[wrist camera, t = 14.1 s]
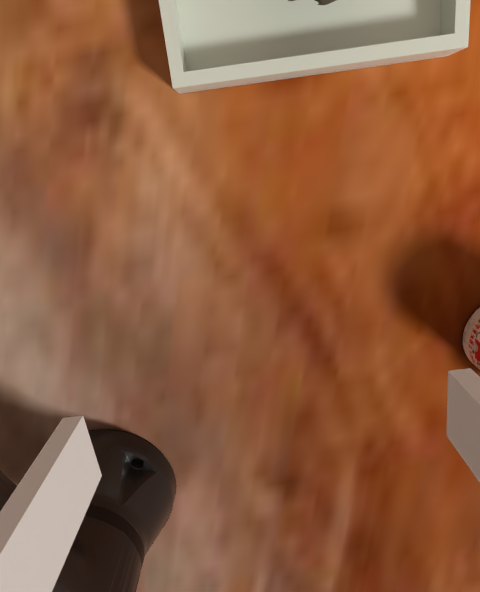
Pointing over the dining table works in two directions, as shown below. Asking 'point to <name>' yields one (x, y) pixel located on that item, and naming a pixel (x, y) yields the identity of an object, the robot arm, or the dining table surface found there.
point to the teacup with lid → (472, 339)
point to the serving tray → (302, 37)
